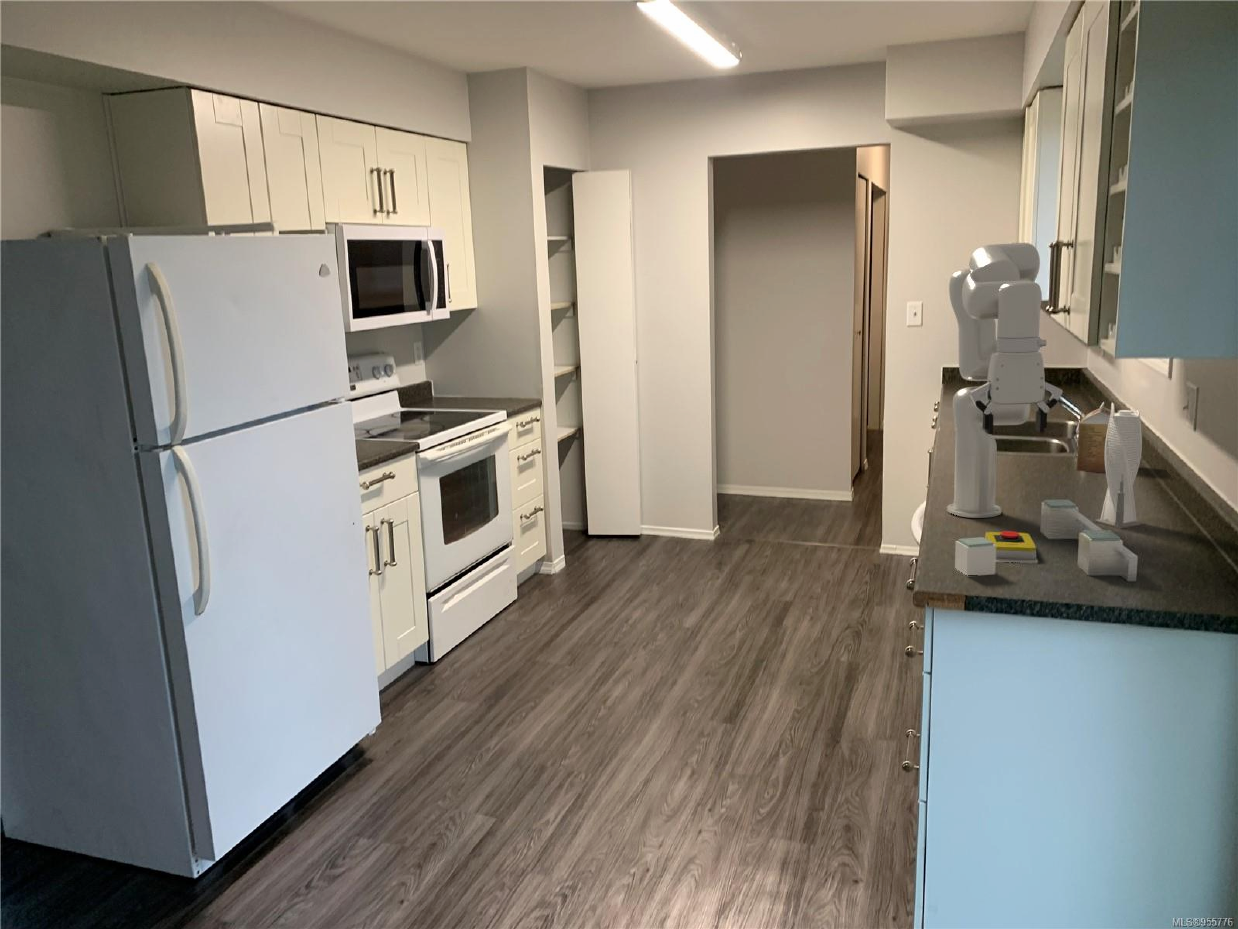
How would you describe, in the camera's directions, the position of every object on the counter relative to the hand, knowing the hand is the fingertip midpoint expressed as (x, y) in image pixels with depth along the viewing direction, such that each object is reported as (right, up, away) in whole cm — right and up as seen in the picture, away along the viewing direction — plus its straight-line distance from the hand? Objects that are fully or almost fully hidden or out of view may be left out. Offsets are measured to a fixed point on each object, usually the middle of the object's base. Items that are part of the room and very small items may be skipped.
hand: (1014, 432), depth 180 cm
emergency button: (+5, -26, +15) cm, 30 cm away
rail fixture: (+20, -25, +12) cm, 34 cm away
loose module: (-6, -28, +4) cm, 29 cm away
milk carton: (+63, -8, +87) cm, 107 cm away
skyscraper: (+38, -20, +32) cm, 54 cm away
